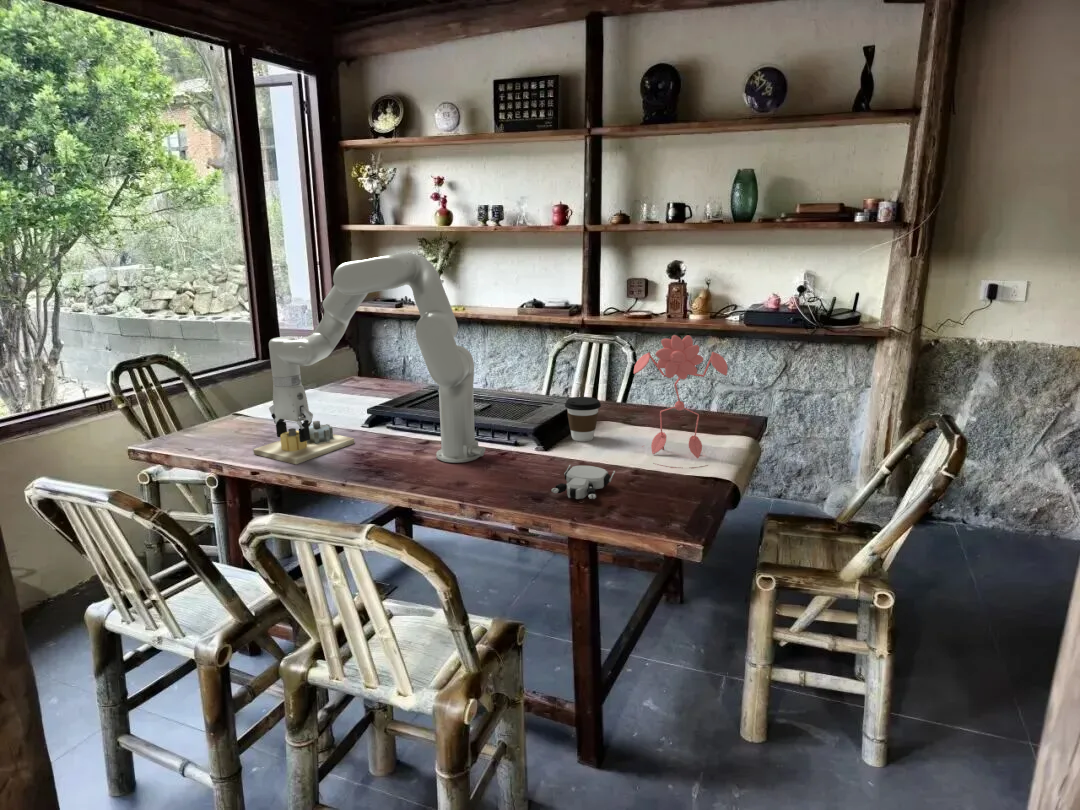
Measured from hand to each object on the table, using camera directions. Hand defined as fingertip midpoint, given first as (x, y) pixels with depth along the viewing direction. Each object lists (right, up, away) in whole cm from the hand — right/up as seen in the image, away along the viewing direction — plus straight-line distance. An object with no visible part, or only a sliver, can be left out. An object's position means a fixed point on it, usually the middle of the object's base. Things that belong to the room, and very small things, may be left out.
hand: (293, 438), depth 202 cm
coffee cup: (+85, -1, +11) cm, 85 cm away
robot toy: (+82, -12, -30) cm, 88 cm away
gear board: (+2, -3, +4) cm, 6 cm away
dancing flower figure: (+109, -6, -7) cm, 109 cm away
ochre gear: (0, -3, +1) cm, 3 cm away
